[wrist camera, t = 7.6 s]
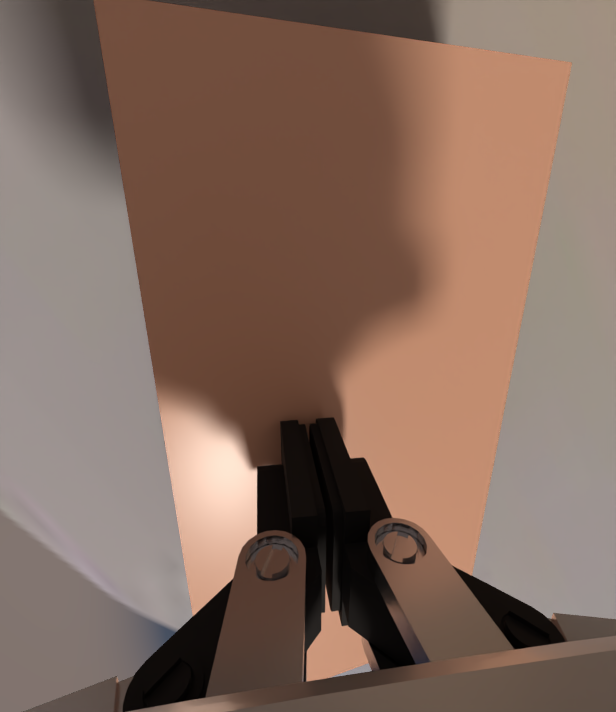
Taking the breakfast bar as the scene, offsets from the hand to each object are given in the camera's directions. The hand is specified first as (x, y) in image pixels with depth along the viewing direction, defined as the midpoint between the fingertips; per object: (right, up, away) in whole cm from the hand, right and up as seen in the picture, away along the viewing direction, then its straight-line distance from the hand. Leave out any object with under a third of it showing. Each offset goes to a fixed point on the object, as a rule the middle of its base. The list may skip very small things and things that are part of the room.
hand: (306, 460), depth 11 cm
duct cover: (+1, 0, +2) cm, 2 cm away
